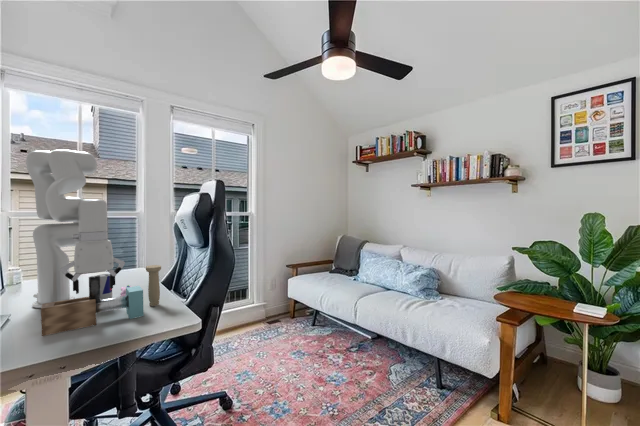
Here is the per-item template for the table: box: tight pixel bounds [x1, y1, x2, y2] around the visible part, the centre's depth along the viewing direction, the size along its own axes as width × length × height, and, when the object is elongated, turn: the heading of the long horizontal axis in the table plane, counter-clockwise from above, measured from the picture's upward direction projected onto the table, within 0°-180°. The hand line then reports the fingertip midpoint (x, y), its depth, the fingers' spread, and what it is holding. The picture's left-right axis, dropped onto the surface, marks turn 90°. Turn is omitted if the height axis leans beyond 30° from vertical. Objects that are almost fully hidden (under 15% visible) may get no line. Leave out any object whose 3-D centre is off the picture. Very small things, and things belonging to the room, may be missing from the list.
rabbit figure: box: [119, 284, 133, 297], centre depth 127 cm, size 6×6×15 cm
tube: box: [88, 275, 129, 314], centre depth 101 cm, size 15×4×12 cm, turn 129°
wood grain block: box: [40, 296, 97, 337], centre depth 94 cm, size 13×6×8 cm, turn 129°
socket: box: [125, 285, 145, 320], centre depth 105 cm, size 4×8×9 cm, turn 40°
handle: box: [145, 264, 162, 307], centre depth 115 cm, size 5×6×15 cm
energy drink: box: [96, 273, 113, 300], centre depth 114 cm, size 5×5×12 cm
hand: (94, 290), depth 98 cm, fingers open, 8 cm apart
